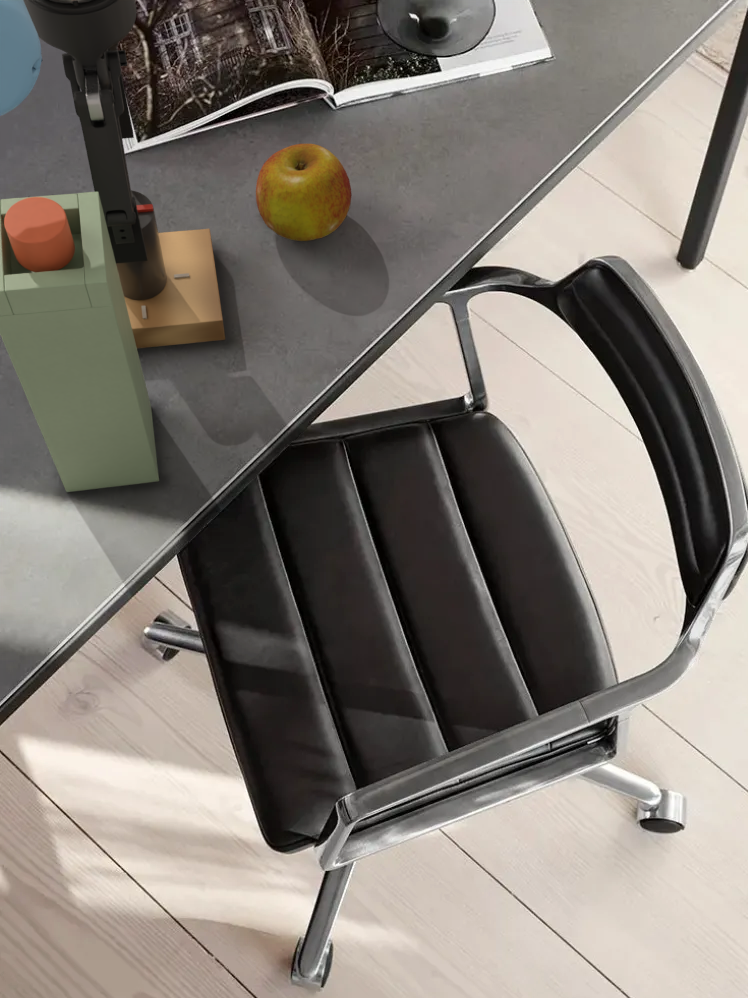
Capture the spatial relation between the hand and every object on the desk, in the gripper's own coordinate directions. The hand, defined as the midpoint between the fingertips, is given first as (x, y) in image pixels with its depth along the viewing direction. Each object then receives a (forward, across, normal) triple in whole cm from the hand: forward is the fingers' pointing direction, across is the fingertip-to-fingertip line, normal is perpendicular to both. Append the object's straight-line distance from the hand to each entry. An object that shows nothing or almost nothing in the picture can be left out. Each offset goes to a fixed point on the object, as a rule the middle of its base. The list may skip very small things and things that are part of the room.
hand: (124, 195), depth 95 cm
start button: (-12, -16, +5) cm, 21 cm away
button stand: (+14, -16, +5) cm, 22 cm away
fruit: (+14, +8, -16) cm, 23 cm away
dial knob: (+11, 0, 0) cm, 11 cm away
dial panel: (+14, 0, 0) cm, 14 cm away
